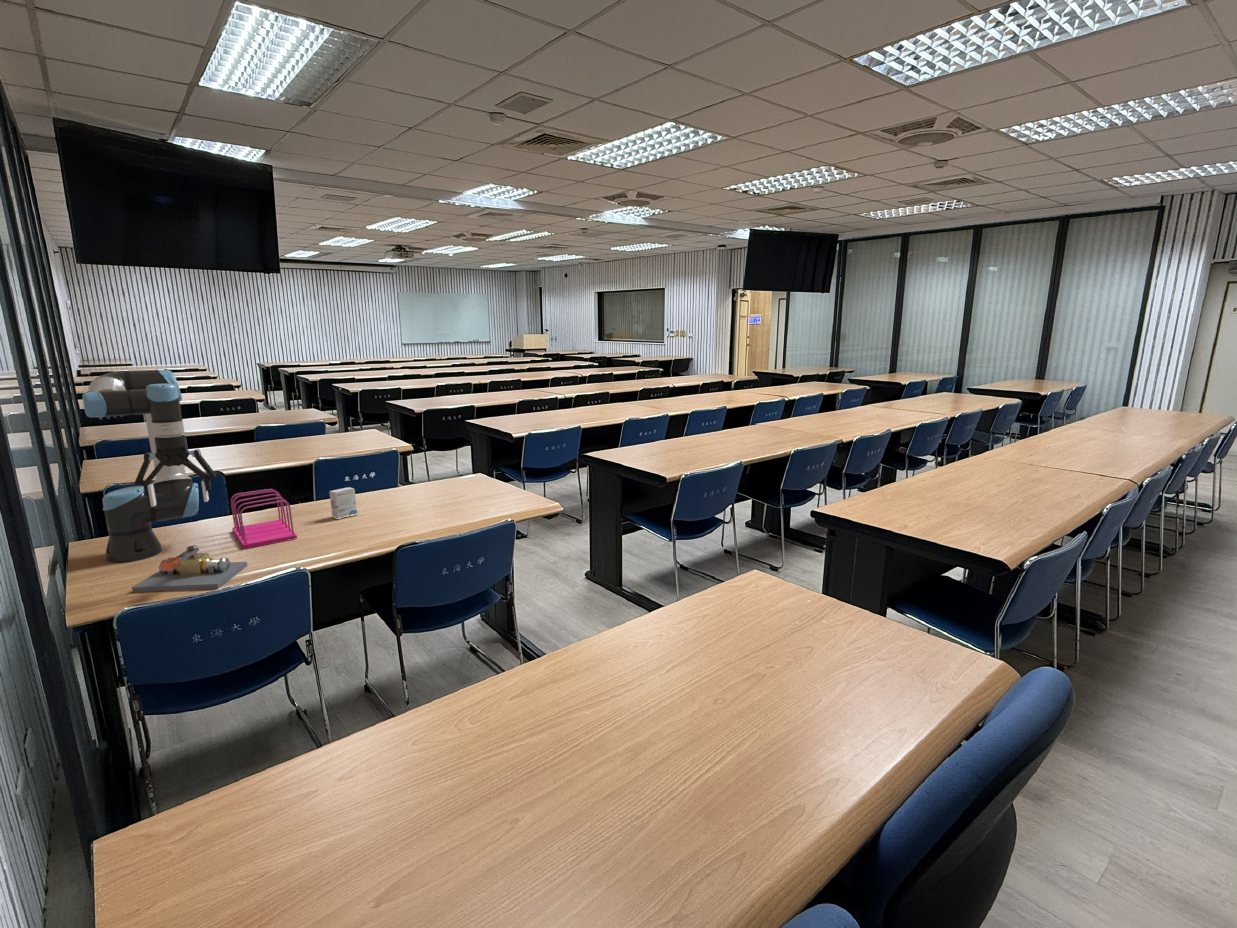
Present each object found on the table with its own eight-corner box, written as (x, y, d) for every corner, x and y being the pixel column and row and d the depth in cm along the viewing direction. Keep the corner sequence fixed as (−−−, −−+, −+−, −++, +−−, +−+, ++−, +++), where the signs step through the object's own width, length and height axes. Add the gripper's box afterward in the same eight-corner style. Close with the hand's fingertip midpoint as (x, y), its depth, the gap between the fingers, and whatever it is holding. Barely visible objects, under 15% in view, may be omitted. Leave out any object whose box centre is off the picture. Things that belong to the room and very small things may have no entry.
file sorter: (243, 549, 215) (237, 507, 211) (232, 532, 233) (226, 493, 230) (297, 539, 225) (292, 499, 222) (282, 523, 244) (277, 485, 241)
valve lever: (191, 554, 191) (189, 545, 191) (201, 553, 192) (199, 545, 191) (162, 572, 177) (160, 562, 176) (172, 571, 177) (171, 562, 177)
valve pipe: (159, 578, 187) (156, 561, 186) (171, 570, 193) (168, 554, 192) (222, 575, 189) (219, 558, 188) (231, 568, 195) (229, 552, 194)
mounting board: (132, 592, 180) (131, 587, 179) (169, 568, 197) (169, 564, 197) (218, 588, 182) (217, 583, 182) (247, 565, 200) (246, 561, 199)
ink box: (351, 513, 257) (349, 486, 255) (357, 515, 254) (355, 488, 252) (331, 517, 251) (329, 490, 248) (337, 520, 248) (334, 492, 245)
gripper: (113, 440, 173) (126, 511, 178) (215, 434, 183) (225, 501, 188) (122, 436, 180) (134, 504, 185) (220, 430, 190) (229, 495, 194)
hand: (180, 503), depth 186 cm, fingers open, 13 cm apart
